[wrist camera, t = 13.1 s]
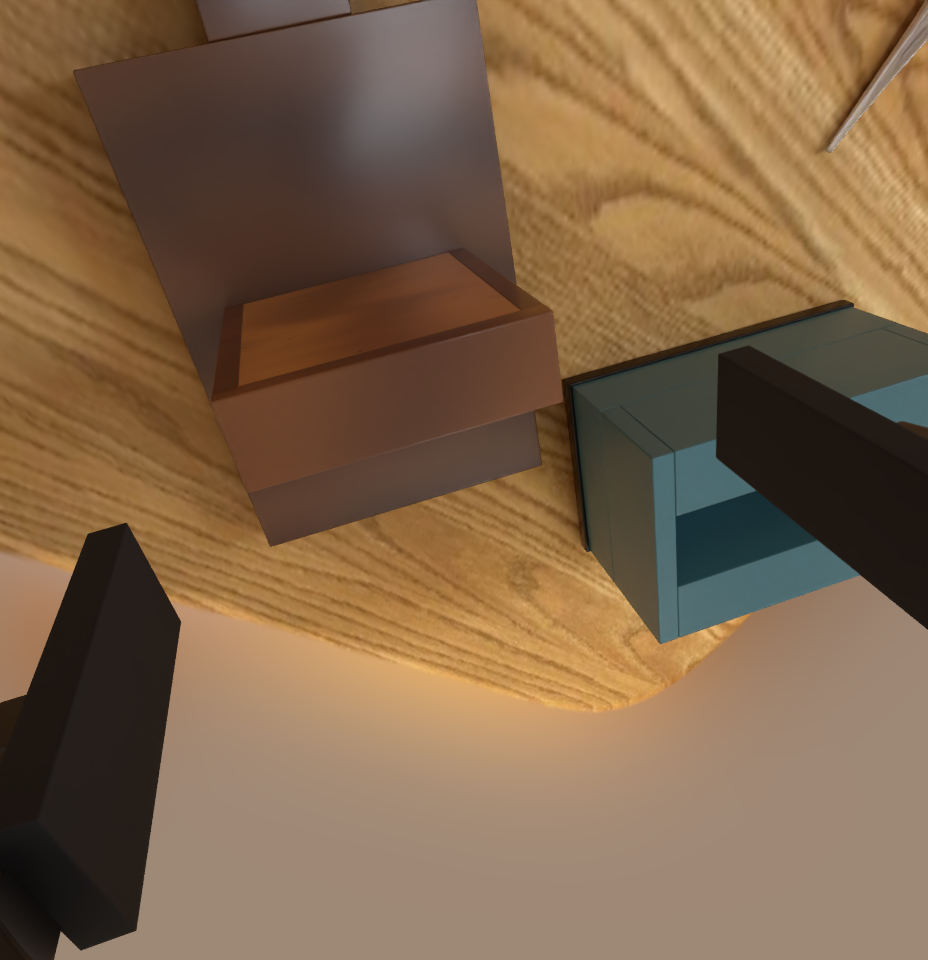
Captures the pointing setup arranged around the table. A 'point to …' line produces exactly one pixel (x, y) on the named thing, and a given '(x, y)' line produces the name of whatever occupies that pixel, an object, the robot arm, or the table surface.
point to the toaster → (718, 466)
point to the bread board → (315, 195)
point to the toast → (378, 365)
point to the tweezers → (888, 70)
